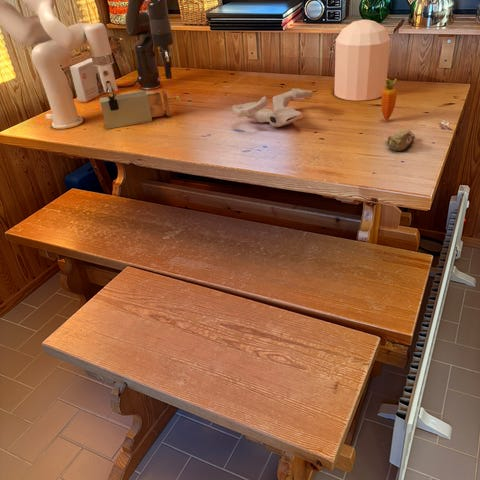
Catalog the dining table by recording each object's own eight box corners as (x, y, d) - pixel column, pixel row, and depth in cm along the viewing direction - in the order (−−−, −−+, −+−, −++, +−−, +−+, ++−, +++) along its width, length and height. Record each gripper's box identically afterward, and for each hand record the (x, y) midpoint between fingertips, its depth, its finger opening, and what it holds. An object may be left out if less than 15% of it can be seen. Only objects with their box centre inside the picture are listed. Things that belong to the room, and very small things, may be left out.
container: (354, 104, 182) (359, 27, 166) (324, 91, 198) (325, 20, 182) (396, 93, 189) (404, 18, 173) (363, 81, 205) (368, 12, 189)
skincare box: (87, 102, 214) (77, 67, 204) (78, 102, 215) (68, 66, 206) (113, 88, 229) (105, 54, 220) (104, 88, 231) (96, 54, 222)
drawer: (181, 109, 192) (177, 88, 188) (183, 113, 189) (180, 91, 184) (127, 118, 188) (122, 97, 183) (128, 122, 184) (123, 100, 179)
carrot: (394, 118, 167) (398, 76, 158) (393, 123, 163) (397, 80, 154) (379, 117, 168) (383, 75, 160) (378, 122, 165) (382, 80, 156)
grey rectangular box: (150, 116, 191) (145, 90, 185) (152, 121, 186) (147, 94, 180) (106, 124, 188) (99, 98, 182) (106, 129, 183) (100, 102, 177)
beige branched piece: (230, 133, 167) (227, 101, 161) (244, 110, 188) (241, 81, 182) (308, 133, 161) (308, 99, 155) (313, 109, 182) (314, 78, 176)
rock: (408, 140, 153) (379, 139, 152) (414, 122, 149) (384, 120, 148) (421, 154, 144) (391, 153, 143) (428, 135, 140) (396, 133, 139)
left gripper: (114, 63, 166) (125, 112, 176) (111, 53, 180) (122, 99, 190) (93, 66, 164) (105, 115, 175) (91, 56, 178) (103, 102, 188)
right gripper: (174, 32, 168) (181, 81, 178) (168, 27, 178) (175, 73, 188) (153, 35, 166) (162, 84, 176) (149, 29, 177) (157, 75, 187)
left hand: (114, 106), depth 182 cm, fingers closed on grey rectangular box, 6 cm apart
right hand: (169, 78), depth 182 cm, fingers closed
